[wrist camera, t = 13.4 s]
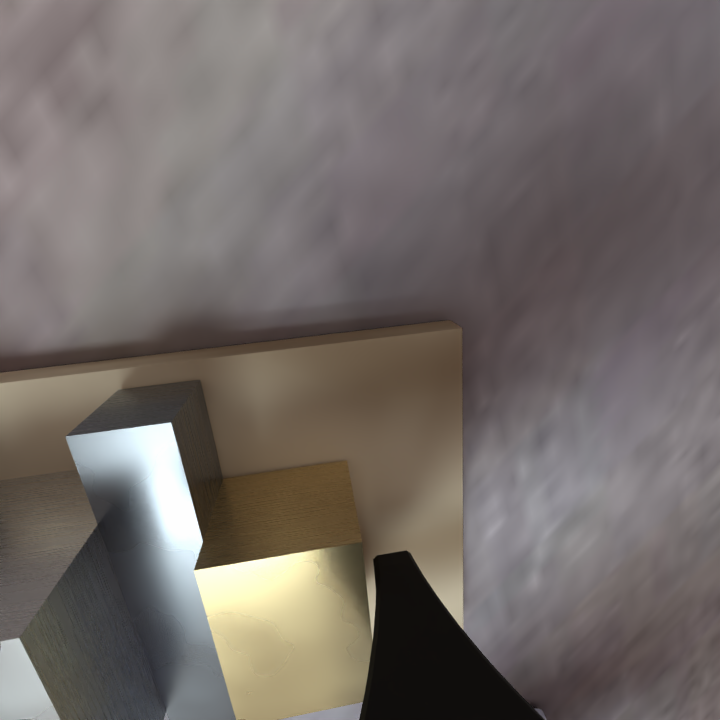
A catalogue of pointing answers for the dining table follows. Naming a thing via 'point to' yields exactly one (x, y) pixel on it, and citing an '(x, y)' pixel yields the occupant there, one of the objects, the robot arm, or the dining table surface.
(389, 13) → the dining table surface
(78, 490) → the steel block
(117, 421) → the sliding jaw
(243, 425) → the vise
